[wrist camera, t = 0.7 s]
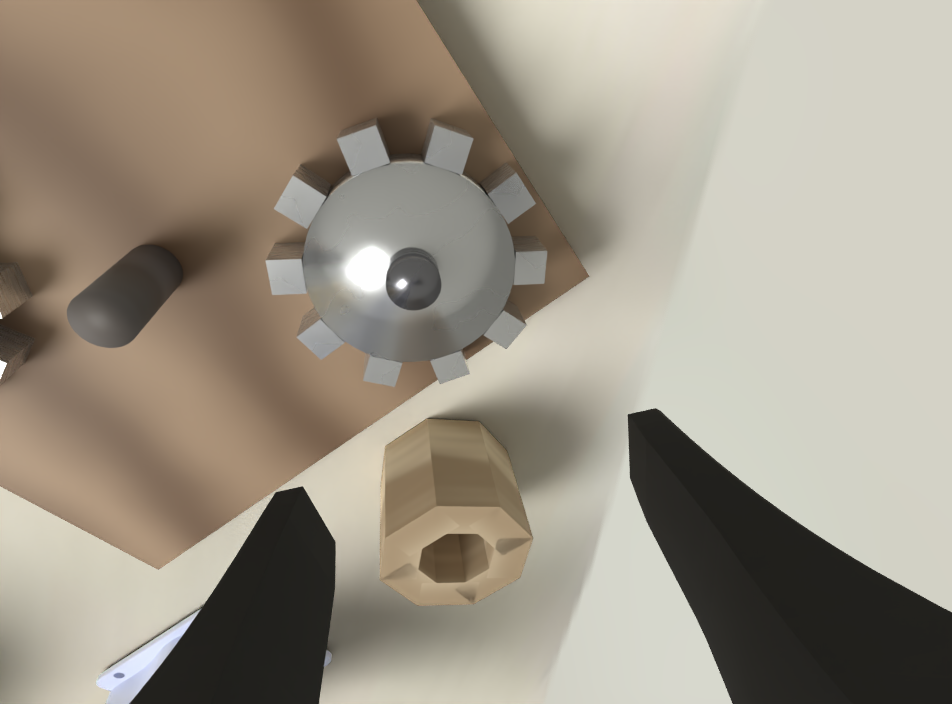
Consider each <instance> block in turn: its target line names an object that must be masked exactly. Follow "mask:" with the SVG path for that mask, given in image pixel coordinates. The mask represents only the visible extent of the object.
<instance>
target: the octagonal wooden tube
mask: <svg viewBox="0 0 952 704" xmlns="http://www.w3.org/2000/svg"><path fill="white" fill-rule="evenodd" d="M532 540H533V536H532V533H531V530H530V526H529V523H528V519H527V516H526V513H525V509H524V506H523V503H522V499H521V496H520V493H519V489H518V486H517V482H516V479H515V476H514V472H513V469H512V466H511V462H510V459H509V456H508V452H507V450H506V449H505V448H504V447H503V446H502V445H501V444H500V443H499V442H498V441H497V440H496V439H495V438H494V437H493V436H492V434H491V433H490V432H489V431H488V430H487V429H486V428H485V427H484V426H483V425H482V424H481V423H480V422H479V421H463V420H442V419H426V420H424V421H423V422H421V423H420V424H418V425H417V426H415V427H414V428H412V429H411V430H409V431H408V432H406V433H405V434H403V435H402V436H400V437H399V438H397V439H396V440H394V441H393V442H391V443H390V444H388V445H387V446H385V453H384V461H383V470H382V478H381V505H380V581H382V582H383V583H385V584H386V585H388V586H389V587H391V588H392V589H394V590H395V591H397V592H398V593H400V594H401V595H403V596H404V597H405V598H407V599H408V600H410V601H411V602H413V603H414V604H416V605H417V606H426V605H462V604H475V603H477V602H478V601H480V600H482V599H484V598H485V597H487V596H489V595H491V594H492V593H494V592H496V591H498V590H499V589H501V588H503V587H505V586H506V585H508V584H510V583H512V582H513V581H515V580H517V579H519V578H520V576H521V573H522V570H523V567H524V564H525V561H526V558H527V555H528V552H529V549H530V546H531V543H532Z"/></svg>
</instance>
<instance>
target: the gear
mask: <svg viewBox="0 0 952 704" xmlns="http://www.w3.org/2000/svg"><path fill="white" fill-rule="evenodd" d="M337 141H338V143H339V146H340V148H341V151H342V153H343V155H344V158H345V160H346V162H347V165H348V167H349V170H350V171H348V172H347V173H346V174H344V175H343V176H342V177H341V178H340V179H339V180H338V181H336V182H335V183H334V184H333V185H332V187H331V188H330V186H331V184H330V183H329V182H327V181H326V180H324V179H322V178H321V177H319V176H318V175H316V174H315V173H313V172H312V171H310V170H309V169H307V168H306V167H304V166H303V165H301V164H300V166H299V167H298V169H297V170H296V171H295V173H294V174H293V176H292V178H291V179H290V181H289V183H288V185H287V186H286V188H285V190H284V192H283V193H282V195H281V197H280V199H279V200H278V202H277V204H276V206H275V207H274V209H275V210H276V211H278V212H280V213H281V214H283V215H285V216H286V217H288V218H290V219H291V220H293V221H295V222H296V223H298V224H300V225H301V226H303V227H304V228H306V229H307V228H308V227H309V225H310V223H311V222H312V223H311V226H310V228H309V231H308V233H307V237H306V241H305V242H297V243H275V244H274V245H273V247H272V249H271V251H270V253H269V255H268V256H267V258H266V260H265V261H266V266H267V271H268V276H269V281H270V286H271V291H272V295H286V294H307V291H308V293H309V296H310V299H311V301H312V303H313V305H314V308H313V309H311V310H310V311H309V312H307V313H306V314H305V315H303V317H302V320H301V323H300V327H299V330H298V334H297V338H298V339H299V340H300V341H301V342H302V343H303V344H304V345H305V346H306V347H308V348H309V349H310V350H311V351H312V352H313V353H314V354H315V355H316V356H317V357H318V358H320V359H321V360H322V359H323V358H325V357H326V356H327V355H329V354H330V353H332V352H333V351H334V350H336V349H337V348H338V347H340V346H341V345H343V344H344V343H345V342H347V343H348V344H350V345H351V346H353V347H354V348H356V349H358V350H360V351H362V352H364V353H366V354H365V358H364V372H363V381H367V382H372V383H377V384H382V385H387V386H392V387H395V385H396V382H397V379H398V375H399V372H400V369H401V366H402V362H418V361H427V360H430V362H431V364H432V367H433V369H434V371H435V374H436V376H437V378H438V381H439V383H440V384H441V383H444V382H447V381H450V380H453V379H456V378H459V377H462V376H465V375H468V374H470V373H469V369H468V365H467V361H466V357H465V353H464V350H463V348H464V347H466V346H468V345H469V344H471V343H472V342H474V341H475V340H476V339H478V338H479V337H480V336H481V335H482V334H483V335H484V336H485V337H487V338H489V339H490V340H492V341H494V342H495V343H497V344H499V345H500V346H502V347H504V348H505V349H507V348H508V347H509V345H510V344H511V343H512V342H513V341H514V340H515V338H516V337H517V336H518V335H519V334H520V332H521V331H522V330H523V329H524V328H525V326H526V323H525V321H524V319H523V317H522V315H521V313H520V311H519V309H518V307H517V305H515V304H514V303H512V302H511V301H509V300H507V299H508V297H509V295H510V291H511V288H512V285H513V284H514V285H526V284H544V282H545V271H546V260H547V250H546V249H545V247H544V246H543V245H542V243H541V242H540V241H539V239H538V238H537V237H536V236H511V234H510V232H509V229H508V227H507V224H506V222H505V220H506V221H507V223H508V224H509V223H510V222H512V221H513V220H514V219H516V218H517V217H518V216H520V215H521V214H523V213H524V212H525V211H527V210H528V209H529V208H531V207H532V206H534V205H535V204H536V203H535V201H534V200H533V198H532V196H531V195H530V193H529V192H528V190H527V189H526V187H525V185H524V184H523V182H522V181H521V179H520V177H519V176H518V174H517V173H516V172H515V171H514V170H513V169H512V168H511V167H510V166H509V165H508V164H507V163H504V164H503V165H502V166H501V167H499V168H498V169H497V170H495V171H494V172H493V173H491V174H490V175H489V176H487V177H486V178H485V179H483V180H482V181H481V182H480V183H481V185H482V186H483V187H482V186H481V185H480V184H479V183H478V182H477V181H476V180H475V179H474V178H473V177H471V176H470V175H469V174H467V173H466V172H465V171H463V170H464V167H465V164H466V161H467V158H468V154H469V151H470V148H471V145H472V142H473V138H472V137H471V135H470V134H469V133H468V132H467V131H466V130H463V129H460V128H457V127H455V126H452V125H449V124H446V123H443V122H440V121H438V120H435V119H432V118H431V119H430V123H429V126H428V130H427V133H426V137H425V141H424V144H423V148H422V151H421V154H412V153H402V154H391V155H390V152H389V149H388V147H387V144H386V141H385V139H384V136H383V133H382V131H381V128H380V125H379V123H378V120H377V118H375V119H372V120H370V121H367V122H364V123H361V124H358V125H355V126H353V127H350V128H347V129H344V130H341V131H340V133H339V135H338V137H337ZM483 188H484V189H485V190H484V189H483ZM501 214H502V215H501ZM502 216H503V217H504V218H505V220H504V218H503V217H502ZM312 220H313V221H312Z"/></svg>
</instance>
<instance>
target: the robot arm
mask: <svg viewBox="0 0 952 704" xmlns="http://www.w3.org/2000/svg"><path fill="white" fill-rule="evenodd" d="M628 432H629V461H630V479H631V481H632V484H633V487H634V490H635V492H636V495H637V498H638V500H639V503H640V506H641V508H642V511H643V513H644V516H645V518H646V521H647V523H648V525H649V527H650V529H651V531H652V532H653V535H654V537H655V539H656V541H657V542H658V545H659V546H660V548H661V550H662V552H663V554H664V556H665V558H666V560H667V562H668V564H669V566H670V568H671V570H672V571H673V574H674V575H675V578H676V580H677V581H678V583H679V585H680V587H681V589H682V591H683V593H684V595H685V597H686V599H687V601H688V603H689V605H690V607H691V608H692V610H693V612H694V614H695V616H696V618H697V620H698V622H699V625H700V627H701V629H702V631H703V633H704V635H705V637H706V639H707V642H708V644H709V647H710V649H711V652H712V654H713V657H714V659H715V661H716V664H717V666H718V669H719V671H720V674H721V676H722V678H723V681H724V683H725V686H726V688H727V691H728V693H729V696H730V698H731V701H732V703H733V704H952V612H950V611H948V610H946V609H944V608H942V607H940V606H938V605H936V604H934V603H933V602H931V601H929V600H927V599H926V598H924V597H922V596H920V595H918V594H916V593H914V592H913V591H911V590H909V589H907V588H905V587H903V586H902V585H900V584H898V583H896V582H894V581H892V580H891V579H889V578H887V577H885V576H884V575H882V574H880V573H878V572H876V571H874V570H873V569H871V568H869V567H868V566H866V565H864V564H863V563H861V562H859V561H858V560H856V559H854V558H852V557H851V556H849V555H848V554H846V553H844V552H843V551H841V550H839V549H838V548H836V547H835V546H833V545H832V544H830V543H828V542H827V541H825V540H824V539H822V538H821V537H819V536H817V535H816V534H814V533H813V532H811V531H810V530H808V529H807V528H805V527H804V526H802V525H801V524H799V523H798V522H796V521H795V520H793V519H792V518H791V517H789V516H788V515H786V514H785V513H784V512H782V511H781V510H779V509H778V508H777V507H775V506H774V505H773V504H771V503H770V502H768V501H767V500H766V499H764V498H763V497H762V496H760V495H759V494H757V493H756V492H755V491H754V490H752V489H751V488H750V487H748V486H747V485H746V484H745V483H743V482H742V481H741V480H739V479H738V478H737V477H736V476H735V475H733V474H732V473H731V472H730V471H728V470H727V469H726V468H724V467H723V466H722V465H721V464H720V463H718V462H717V461H716V460H715V459H714V458H712V457H711V456H710V455H709V454H708V453H706V452H705V451H704V450H703V449H702V448H701V447H700V446H698V445H697V444H696V443H695V442H694V441H693V440H691V439H690V438H689V437H688V436H687V435H686V434H685V433H683V431H681V430H680V429H679V428H678V427H677V426H676V425H675V424H674V423H673V422H672V421H671V420H669V419H668V418H667V417H666V416H665V415H664V414H663V413H662V412H661V411H659V410H658V409H650V410H646V411H641V412H637V413H632V414H628ZM334 590H335V540H334V539H333V537H332V535H331V534H330V532H329V530H328V528H327V527H326V525H325V523H324V522H323V520H322V518H321V517H320V515H319V513H318V511H317V510H316V508H315V506H314V505H313V503H312V501H311V500H310V498H309V496H308V494H307V493H306V491H305V489H304V488H303V486H302V487H298V488H293V489H289V490H284V491H280V492H276V493H275V494H274V496H273V498H272V499H271V501H270V502H269V504H268V505H267V507H266V508H265V510H264V512H263V513H262V515H261V517H260V518H259V520H258V521H257V523H256V525H255V526H254V528H253V529H252V531H251V533H250V534H249V536H248V538H247V539H246V541H245V542H244V544H243V546H242V547H241V549H240V550H239V552H238V554H237V555H236V557H235V558H234V560H233V561H232V563H231V565H230V566H229V568H228V569H227V571H226V572H225V574H224V575H223V577H222V579H221V580H220V582H219V583H218V585H217V586H216V588H215V589H214V591H213V592H212V594H211V595H210V597H209V598H208V600H207V601H206V603H205V604H204V606H203V607H202V608H201V609H200V610H198V611H197V612H195V613H194V614H192V615H190V616H189V617H187V618H186V619H184V620H183V621H181V622H180V623H178V624H177V625H175V626H173V627H172V628H170V629H169V630H167V631H166V632H164V633H163V634H161V635H160V636H158V637H156V638H155V639H153V640H152V641H150V642H149V643H147V644H146V645H144V646H143V647H141V648H139V649H138V650H136V651H135V652H133V653H132V654H130V655H129V656H127V657H126V658H124V659H122V660H121V661H119V662H118V663H116V664H115V665H113V666H112V667H110V668H109V669H107V670H105V671H104V672H102V673H101V674H100V675H99V676H98V678H97V681H96V684H97V686H99V687H100V688H103V689H106V690H108V691H110V694H109V696H108V698H107V701H106V703H105V704H319V697H320V690H321V683H322V676H323V669H324V667H325V666H326V665H328V664H329V663H330V662H331V658H332V654H331V653H330V652H329V651H327V650H326V649H327V642H328V635H329V628H330V620H331V613H332V606H333V598H334Z"/></svg>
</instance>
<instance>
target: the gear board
mask: <svg viewBox="0 0 952 704" xmlns="http://www.w3.org/2000/svg"><path fill="white" fill-rule="evenodd" d="M375 118H377V120H378V123H379V125H380V128H381V131H382V133H383V136H384V139H385V141H386V144H387V147H388V149H389V152H390V155H391V154H402V153H412V154H421V151H422V148H423V144H424V141H425V137H426V133H427V130H428V126H429V123H430V119H431V118H432V119H435V120H438V121H440V122H443V123H446V124H449V125H452V126H455V127H457V128H460V129H463V130H466V131H467V132H468V133H469V134H470V135H471V137H472V138H473V142H472V145H471V148H470V151H469V154H468V158H467V161H466V164H465V167H464V170H463V171H465V172H466V173H467V174H469V175H470V176H471V177H473V178H474V179H475V180H476V181H477V182H478V183H479V184H480V185H481V183H480V182H481V181H482V180H483V179H485V178H486V177H487V176H489V175H490V174H491V173H493V172H494V171H495V170H497V169H498V168H499V167H501V166H502V165H503V164H504V163H507V164H508V165H509V166H510V167H511V168H512V169H513V170H514V171H515V172H516V173H517V174H518V176H519V177H520V179H521V181H522V182H523V184H524V185H525V187H526V189H527V190H528V192H529V193H530V195H531V196H532V198H533V200H534V201H535V203H536V204H535V205H534V206H532V207H531V208H529V209H528V210H527V211H525V212H524V213H523V214H521V215H520V216H518V217H517V218H516V219H514V220H513V221H512V222H510V223H509V224H508V223H507V221H506V220H505V218H504V217H503V216H502V217H503V218H504V220H505V222H506V224H507V227H508V229H509V232H510V234H511V236H536V237H537V238H538V239H539V241H540V242H541V243H542V245H543V246H544V247H545V249H546V250H547V260H546V271H545V282H544V284H526V285H514V284H513V285H512V288H511V291H510V295H509V297H508V299H507V300H509V301H511V302H512V303H514V304H515V305H517V307H518V309H519V311H520V313H521V315H522V317H523V319H524V320H526V319H527V318H529V317H530V316H532V315H533V314H535V313H536V312H537V311H539V310H540V309H542V308H543V307H545V306H546V305H548V304H549V303H551V302H552V301H554V300H555V299H557V298H558V297H560V296H561V295H562V294H564V293H565V292H567V291H568V290H570V289H571V288H573V287H574V286H576V285H577V284H579V283H580V282H582V281H583V280H584V279H586V278H587V277H589V275H588V273H587V272H586V270H585V269H584V267H583V265H582V264H581V262H580V261H579V259H578V257H577V256H576V254H575V253H574V251H573V250H572V248H571V246H570V245H569V243H568V242H567V240H566V238H565V237H564V235H563V234H562V232H561V230H560V229H559V227H558V226H557V224H556V222H555V221H554V219H553V218H552V216H551V214H550V213H549V211H548V210H547V208H546V206H545V205H544V203H543V202H542V200H541V198H540V197H539V195H538V194H537V192H536V190H535V189H534V187H533V186H532V184H531V182H530V181H529V179H528V178H527V176H526V174H525V173H524V171H523V170H522V168H521V166H520V165H519V163H518V162H517V160H516V158H515V157H514V155H513V154H512V152H511V150H510V149H509V147H508V146H507V144H506V142H505V141H504V139H503V138H502V136H501V134H500V133H499V131H498V130H497V128H496V126H495V125H494V123H493V122H492V120H491V119H490V117H489V115H488V114H487V112H486V111H485V109H484V107H483V106H482V104H481V103H480V101H479V99H478V98H477V96H476V95H475V93H474V91H473V90H472V88H471V87H470V85H469V83H468V82H467V80H466V79H465V77H464V75H463V74H462V72H461V71H460V69H459V67H458V66H457V64H456V63H455V61H454V59H453V58H452V56H451V55H450V53H449V51H448V50H447V48H446V47H445V45H444V43H443V42H442V40H441V39H440V37H439V35H438V34H437V32H436V31H435V29H434V27H433V26H432V24H431V23H430V21H429V19H428V18H427V16H426V15H425V13H424V11H423V10H422V8H421V7H420V5H419V3H418V2H417V0H0V263H13V262H18V265H19V267H20V269H21V271H22V273H23V276H24V278H25V280H26V282H27V285H28V287H29V289H30V291H31V293H32V297H31V298H30V299H28V300H27V301H25V302H24V303H23V304H21V305H20V306H19V307H17V308H16V309H14V310H13V311H12V312H10V313H9V314H8V315H6V316H5V317H3V318H0V324H1V325H3V326H5V327H8V328H10V329H13V330H15V331H18V332H20V333H22V334H25V335H27V336H30V337H32V338H35V340H34V343H33V345H32V347H31V350H30V352H29V354H28V357H27V359H26V361H25V364H23V365H22V366H21V367H20V368H19V369H18V370H17V371H16V372H15V373H13V374H12V375H11V376H10V377H9V378H8V379H7V380H6V381H4V382H3V383H2V384H1V385H0V486H1V487H3V488H5V489H7V490H8V491H10V492H12V493H14V494H16V495H18V496H20V497H22V498H24V499H25V500H27V501H29V502H31V503H33V504H35V505H37V506H39V507H41V508H43V509H44V510H46V511H48V512H50V513H52V514H54V515H56V516H58V517H60V518H61V519H63V520H65V521H67V522H69V523H71V524H73V525H75V526H77V527H78V528H80V529H82V530H84V531H86V532H88V533H90V534H92V535H94V536H96V537H97V538H99V539H101V540H103V541H105V542H107V543H109V544H111V545H113V546H114V547H116V548H118V549H120V550H122V551H124V552H126V553H128V554H130V555H131V556H133V557H135V558H137V559H139V560H141V561H143V562H145V563H147V564H148V565H150V566H152V567H154V568H156V569H158V570H159V569H160V568H162V567H163V566H164V565H166V564H167V563H169V562H170V561H172V560H173V559H175V558H176V557H178V556H179V555H181V554H182V553H184V552H185V551H186V550H188V549H189V548H191V547H192V546H194V545H195V544H197V543H198V542H200V541H201V540H203V539H204V538H206V537H207V536H209V535H210V534H211V533H213V532H214V531H216V530H217V529H219V528H220V527H222V526H223V525H225V524H226V523H228V522H229V521H231V520H232V519H233V518H235V517H236V516H238V515H239V514H241V513H242V512H244V511H245V510H247V509H248V508H250V507H251V506H253V505H254V504H256V503H257V502H258V501H260V500H261V499H263V498H264V497H266V496H267V495H269V494H270V493H272V492H273V491H275V490H276V489H278V488H279V487H280V486H282V485H283V484H285V483H286V482H288V481H289V480H291V479H292V478H294V477H295V476H297V475H298V474H300V473H301V472H303V471H304V470H305V469H307V468H308V467H310V466H311V465H313V464H314V463H316V462H317V461H319V460H320V459H322V458H323V457H325V456H326V455H327V454H329V453H330V452H332V451H333V450H335V449H336V448H338V447H339V446H341V445H342V444H344V443H345V442H347V441H348V440H349V439H351V438H352V437H354V436H355V435H357V434H358V433H360V432H361V431H363V430H364V429H366V428H367V427H369V426H370V425H372V424H373V423H374V422H376V421H377V420H379V419H380V418H382V417H383V416H385V415H386V414H388V413H389V412H391V411H392V410H394V409H395V408H396V407H398V406H399V405H401V404H402V403H404V402H405V401H407V400H408V399H410V398H411V397H413V396H414V395H416V394H417V393H419V392H420V391H421V390H423V389H424V388H426V387H427V386H429V385H430V384H432V383H433V382H435V381H436V380H438V378H437V376H436V374H435V371H434V369H433V367H432V364H431V362H430V360H427V361H418V362H402V366H401V369H400V372H399V375H398V379H397V382H396V385H395V387H392V386H387V385H382V384H377V383H372V382H367V381H363V372H364V358H365V354H366V353H364V352H362V351H360V350H358V349H356V348H354V347H353V346H351V345H350V344H348V343H347V342H345V343H344V344H343V345H341V346H340V347H338V348H337V349H336V350H334V351H333V352H332V353H330V354H329V355H327V356H326V357H325V358H323V359H322V360H321V359H320V358H318V357H317V356H316V355H315V354H314V353H313V352H312V351H311V350H310V349H309V348H308V347H306V346H305V345H304V344H303V343H302V342H301V341H300V340H299V339H298V338H297V334H298V330H299V327H300V323H301V320H302V317H303V315H305V314H306V313H307V312H309V311H310V310H311V309H313V308H314V305H313V303H312V301H311V299H310V296H309V293H308V291H307V294H286V295H272V291H271V286H270V281H269V276H268V271H267V266H266V261H265V260H266V258H267V256H268V255H269V253H270V251H271V249H272V247H273V245H274V244H275V243H297V242H305V241H306V237H307V233H308V231H309V228H310V226H311V223H312V222H311V223H310V225H309V227H308V228H307V229H306V228H304V227H303V226H301V225H300V224H298V223H296V222H295V221H293V220H291V219H290V218H288V217H286V216H285V215H283V214H281V213H280V212H278V211H276V210H275V209H274V207H275V206H276V204H277V202H278V200H279V199H280V197H281V195H282V193H283V192H284V190H285V188H286V186H287V185H288V183H289V181H290V179H291V178H292V176H293V174H294V173H295V171H296V170H297V169H298V167H299V166H300V164H301V165H303V166H304V167H306V168H307V169H309V170H310V171H312V172H313V173H315V174H316V175H318V176H319V177H321V178H322V179H324V180H326V181H327V182H329V183H330V184H331V186H330V188H331V187H332V185H333V184H334V183H335V182H336V181H338V180H339V179H340V178H341V177H342V176H343V175H344V174H346V173H347V172H348V171H350V170H349V167H348V165H347V162H346V160H345V158H344V155H343V153H342V151H341V148H340V146H339V143H338V141H337V137H338V135H339V133H340V131H341V130H344V129H347V128H350V127H353V126H355V125H358V124H361V123H364V122H367V121H370V120H372V119H375ZM481 186H482V185H481ZM482 187H483V186H482ZM483 189H484V188H483ZM484 190H485V189H484ZM501 215H502V214H501ZM312 221H313V220H312ZM492 342H493V341H492V340H490V339H489V338H487V337H485V336H484V335H483V334H482V335H481V336H480V337H479V338H478V339H476V340H475V341H474V342H472V343H471V344H469V345H468V346H466V347H464V348H463V350H464V353H465V357H466V360H467V359H468V358H470V357H471V356H473V355H474V354H476V353H477V352H479V351H480V350H482V349H483V348H485V347H486V346H488V345H489V344H490V343H492Z"/></svg>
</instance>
